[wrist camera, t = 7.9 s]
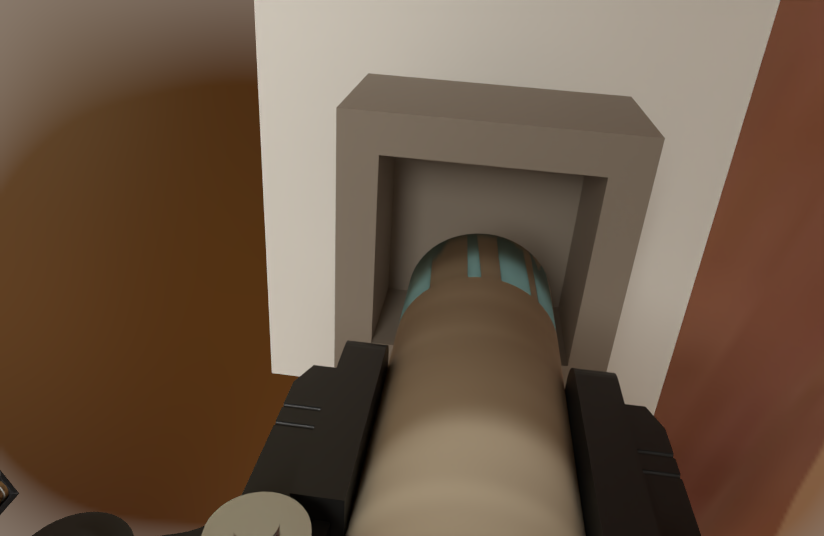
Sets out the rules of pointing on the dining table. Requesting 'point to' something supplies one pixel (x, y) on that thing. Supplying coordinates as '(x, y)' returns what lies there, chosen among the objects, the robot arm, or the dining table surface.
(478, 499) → the rail post
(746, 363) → the dining table surface
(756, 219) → the dining table surface
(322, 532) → the robot arm
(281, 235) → the cup bracket
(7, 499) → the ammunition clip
